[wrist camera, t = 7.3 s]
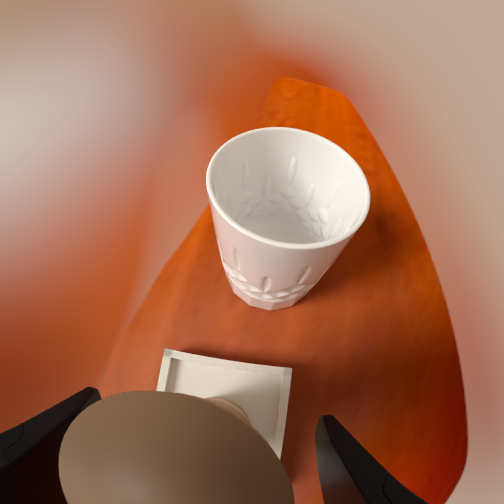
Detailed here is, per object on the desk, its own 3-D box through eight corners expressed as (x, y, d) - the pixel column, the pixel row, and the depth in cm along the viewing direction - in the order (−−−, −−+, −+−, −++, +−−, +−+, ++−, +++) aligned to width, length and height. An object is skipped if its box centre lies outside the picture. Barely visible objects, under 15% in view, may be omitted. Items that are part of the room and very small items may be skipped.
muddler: (261, 454, 14) (312, 565, 2) (187, 464, 13) (96, 567, 2) (246, 388, 16) (266, 373, 5) (174, 398, 15) (43, 389, 4)
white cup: (221, 223, 23) (215, 123, 14) (315, 228, 23) (351, 134, 15) (214, 316, 19) (195, 244, 11) (324, 318, 20) (387, 252, 11)
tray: (270, 490, 13) (273, 498, 12) (152, 469, 13) (144, 476, 12) (287, 370, 18) (292, 368, 16) (171, 352, 18) (164, 348, 16)
